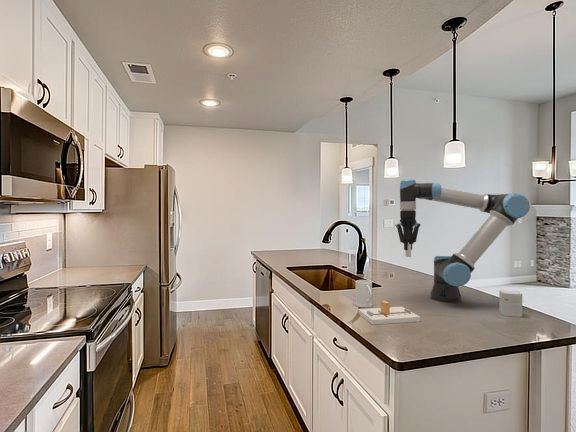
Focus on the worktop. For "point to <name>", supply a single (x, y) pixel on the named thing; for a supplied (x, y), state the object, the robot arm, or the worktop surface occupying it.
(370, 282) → the mug
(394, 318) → the console
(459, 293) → the robot arm
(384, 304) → the fader
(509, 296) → the small box
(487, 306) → the worktop surface
